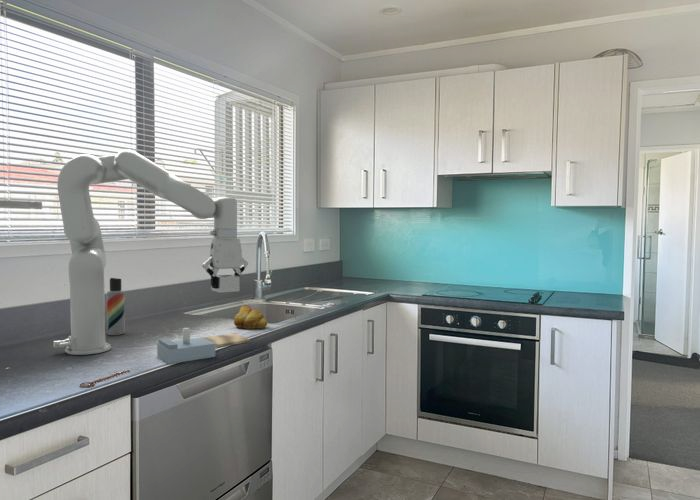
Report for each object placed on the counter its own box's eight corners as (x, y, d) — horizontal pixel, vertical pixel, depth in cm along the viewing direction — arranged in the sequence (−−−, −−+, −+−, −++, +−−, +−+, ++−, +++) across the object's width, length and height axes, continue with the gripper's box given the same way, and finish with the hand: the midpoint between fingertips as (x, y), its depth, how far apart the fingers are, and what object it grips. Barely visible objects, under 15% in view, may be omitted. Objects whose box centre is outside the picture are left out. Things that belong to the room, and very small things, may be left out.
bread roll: (271, 327, 203) (271, 306, 203) (256, 331, 195) (257, 310, 194) (244, 323, 209) (244, 303, 208) (228, 328, 200) (228, 307, 200)
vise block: (168, 363, 150) (168, 334, 150) (157, 356, 158) (157, 328, 158) (215, 356, 159) (215, 328, 158) (202, 349, 167) (202, 323, 166)
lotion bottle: (104, 333, 188) (103, 277, 187) (120, 331, 192) (120, 276, 191) (111, 336, 184) (110, 278, 183) (127, 333, 188) (127, 277, 187)
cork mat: (216, 347, 171) (216, 344, 171) (201, 340, 180) (201, 337, 180) (249, 342, 178) (249, 339, 178) (234, 335, 187) (234, 333, 187)
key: (118, 372, 144) (70, 387, 130) (118, 369, 144) (70, 383, 130) (134, 373, 142) (87, 388, 128) (134, 369, 142) (87, 385, 128)
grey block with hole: (219, 292, 173) (219, 277, 173) (211, 290, 179) (211, 275, 179) (239, 291, 177) (239, 276, 177) (230, 288, 183) (230, 274, 183)
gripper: (205, 235, 169) (205, 290, 170) (254, 234, 179) (254, 286, 180) (196, 234, 175) (196, 287, 176) (244, 233, 185) (244, 284, 186)
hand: (225, 286), depth 178 cm, fingers closed on grey block with hole, 7 cm apart
